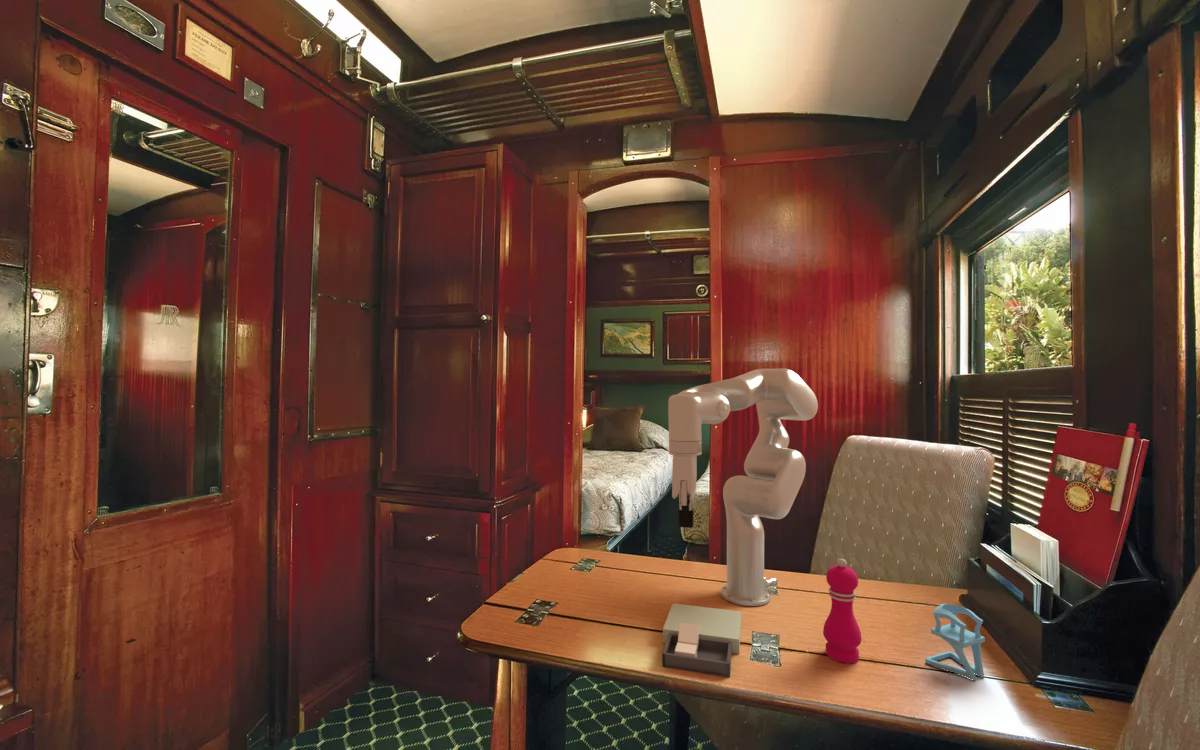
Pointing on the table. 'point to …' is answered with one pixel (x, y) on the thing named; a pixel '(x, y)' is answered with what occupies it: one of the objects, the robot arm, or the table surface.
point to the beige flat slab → (706, 623)
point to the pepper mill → (842, 615)
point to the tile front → (686, 649)
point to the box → (700, 656)
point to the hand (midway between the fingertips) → (686, 526)
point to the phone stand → (958, 640)
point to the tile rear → (689, 633)
